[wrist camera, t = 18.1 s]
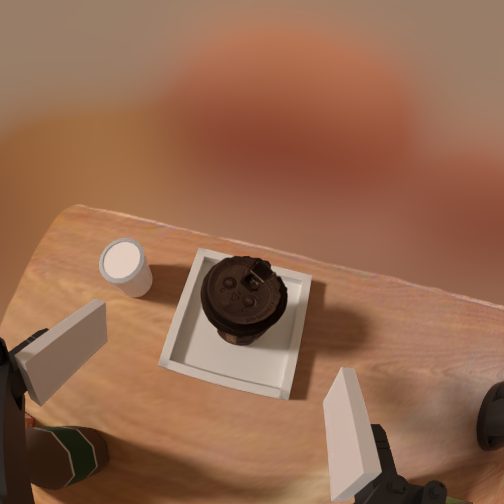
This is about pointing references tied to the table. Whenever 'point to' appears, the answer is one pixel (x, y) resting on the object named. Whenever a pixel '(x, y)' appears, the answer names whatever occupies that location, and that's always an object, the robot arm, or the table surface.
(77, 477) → the beer bottle
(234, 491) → the table surface
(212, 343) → the tray
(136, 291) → the shot glass
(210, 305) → the coffee cup
